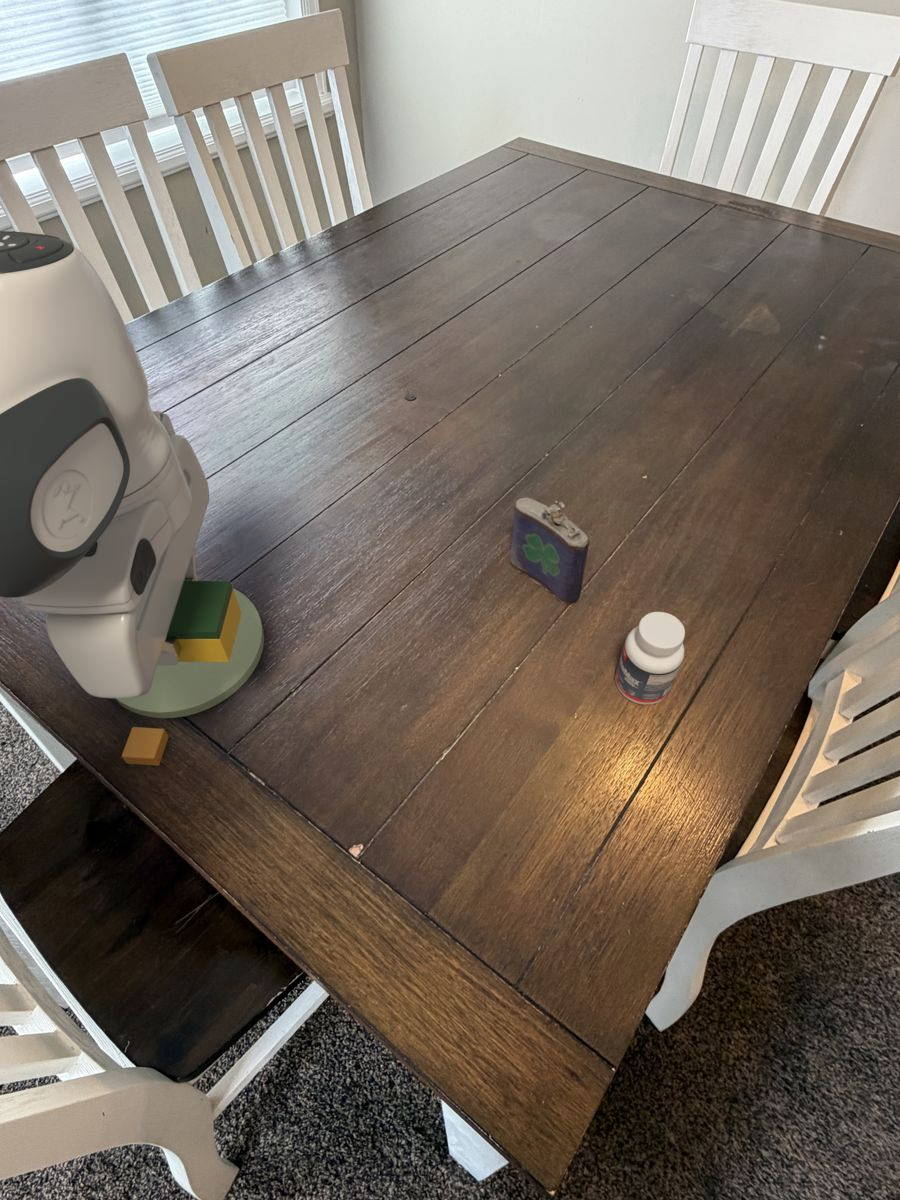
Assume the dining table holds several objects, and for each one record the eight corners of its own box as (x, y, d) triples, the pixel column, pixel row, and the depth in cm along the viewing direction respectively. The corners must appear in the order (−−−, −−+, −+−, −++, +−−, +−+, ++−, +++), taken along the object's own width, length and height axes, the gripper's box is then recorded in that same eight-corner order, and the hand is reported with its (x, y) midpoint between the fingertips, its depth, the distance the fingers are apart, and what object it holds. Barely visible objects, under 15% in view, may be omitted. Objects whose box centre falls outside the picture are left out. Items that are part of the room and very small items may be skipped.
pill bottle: (606, 666, 72) (621, 611, 65) (655, 655, 73) (676, 599, 66) (627, 711, 69) (645, 659, 62) (678, 700, 69) (702, 646, 62)
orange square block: (159, 766, 66) (153, 758, 65) (126, 764, 66) (120, 756, 65) (169, 736, 68) (164, 728, 66) (138, 734, 68) (132, 726, 67)
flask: (504, 562, 80) (510, 490, 72) (522, 548, 82) (530, 476, 73) (569, 609, 76) (583, 539, 68) (587, 594, 77) (603, 523, 69)
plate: (186, 747, 67) (182, 741, 66) (67, 671, 72) (62, 664, 71) (296, 627, 75) (294, 620, 74) (183, 566, 81) (180, 559, 80)
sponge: (127, 661, 57) (109, 631, 54) (145, 612, 60) (128, 580, 57) (229, 662, 57) (216, 631, 54) (241, 612, 60) (230, 580, 57)
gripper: (114, 397, 53) (172, 530, 64) (4, 618, 40) (99, 739, 51) (200, 396, 53) (244, 530, 64) (117, 618, 40) (189, 739, 51)
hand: (179, 624), depth 57 cm, fingers closed on sponge, 5 cm apart
